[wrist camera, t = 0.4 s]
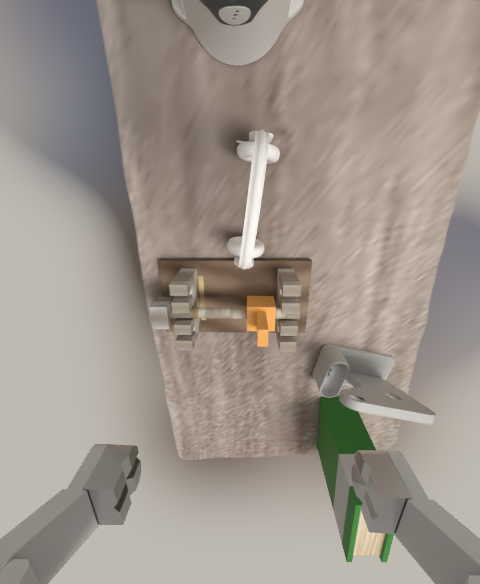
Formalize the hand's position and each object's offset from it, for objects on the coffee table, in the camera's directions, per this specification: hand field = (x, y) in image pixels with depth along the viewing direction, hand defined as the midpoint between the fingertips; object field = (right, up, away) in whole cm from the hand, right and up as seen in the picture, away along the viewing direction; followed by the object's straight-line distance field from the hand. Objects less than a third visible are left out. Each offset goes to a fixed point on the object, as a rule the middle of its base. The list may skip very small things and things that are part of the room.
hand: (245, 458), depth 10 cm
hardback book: (+24, -28, +60) cm, 70 cm away
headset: (+2, +23, +40) cm, 46 cm away
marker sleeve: (+4, +3, +41) cm, 42 cm away
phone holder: (+26, -11, +53) cm, 60 cm away
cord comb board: (-1, +5, +47) cm, 47 cm away
